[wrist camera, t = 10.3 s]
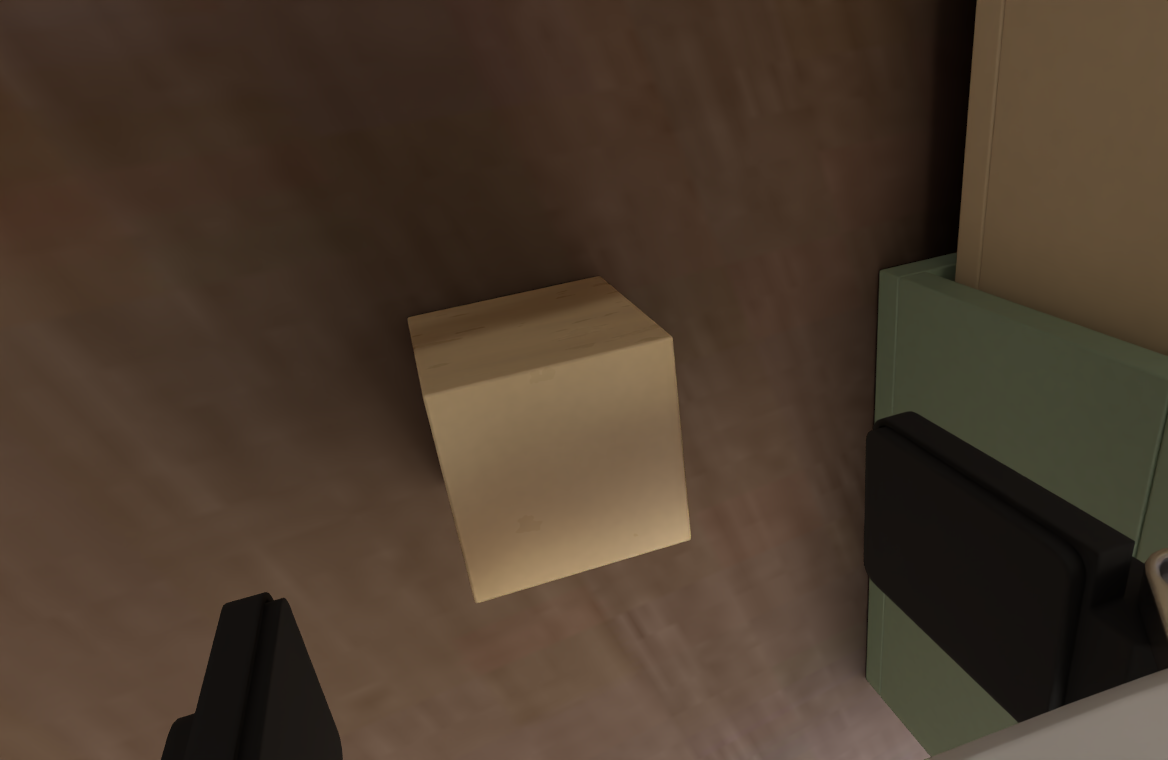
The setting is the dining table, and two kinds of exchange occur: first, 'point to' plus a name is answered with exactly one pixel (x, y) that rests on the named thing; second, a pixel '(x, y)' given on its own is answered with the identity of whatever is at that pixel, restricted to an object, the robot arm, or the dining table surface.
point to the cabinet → (1010, 450)
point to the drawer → (1070, 163)
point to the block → (553, 432)
